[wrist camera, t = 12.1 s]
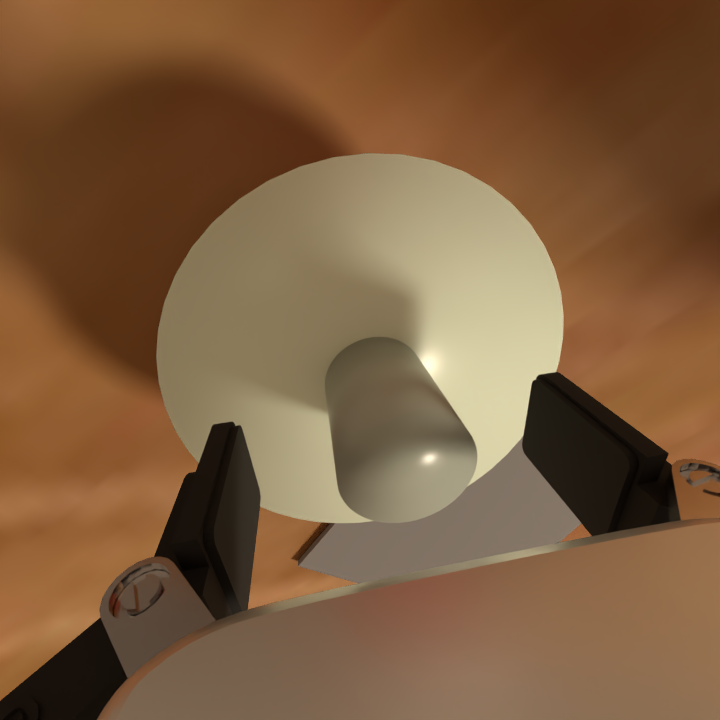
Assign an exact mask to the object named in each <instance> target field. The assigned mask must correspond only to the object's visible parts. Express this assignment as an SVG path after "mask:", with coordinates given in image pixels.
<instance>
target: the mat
mask: <svg viewBox="0 0 720 720" xmlns="http://www.w3.org/2000/svg"><path fill="white" fill-rule="evenodd" d="M522 441H523V437H522V438H521V439H520V440H519V441H518V443H517V444H516V445H515V446H514V447H513V448H512V449H511V450H510V452H509V453H508V454H507V455H506V456H505V457H504V458H503V459H502V460H501V461H499V462H498V463H497V464H496V465H495V466H494V467H493V468H492V469H491V470H489V471H488V472H487V473H485V474H484V475H483V476H482V477H480V478H479V479H478V480H476V481H475V482H474V483H472V484H470V485H469V486H467V487H466V489H465V490H464V491H463V492H462V493H461V494H460V496H459V497H457V498H456V499H455V500H454V501H453V502H452V503H450V504H449V505H448V506H446V507H445V508H443V509H442V510H440V511H438V512H436V513H434V514H432V515H430V516H427V517H425V518H422V519H418V520H415V521H410V522H403V523H382V522H377V521H370V522H361V523H330V524H329V525H328V526H327V527H326V529H325V530H324V531H323V532H322V533H321V534H320V536H319V537H318V538H317V539H316V540H315V541H314V543H313V544H312V545H311V546H310V547H309V548H308V550H307V551H306V552H305V553H304V554H303V555H302V557H301V558H300V559H299V560H298V566H300V567H303V568H307V569H310V570H313V571H317V572H320V573H324V574H327V575H331V576H334V577H338V578H341V579H345V580H348V581H352V582H355V583H358V584H359V583H364V582H369V581H374V580H378V579H383V578H388V577H393V576H398V575H402V574H407V573H412V572H417V571H422V570H426V569H431V568H436V567H441V566H446V565H451V564H456V563H461V562H466V561H471V560H475V559H480V558H485V557H490V556H495V555H500V554H505V553H510V552H515V551H520V550H525V549H530V548H535V547H540V546H545V545H550V544H555V543H559V542H560V541H561V540H562V539H564V538H565V537H566V536H567V535H568V534H569V533H571V532H572V531H573V530H574V529H575V528H576V527H578V526H579V525H580V524H581V522H580V521H579V520H578V518H577V517H576V516H575V515H574V513H573V512H572V511H571V510H570V509H569V507H568V506H567V505H566V504H565V503H564V501H563V500H562V499H561V498H560V496H559V495H558V494H557V493H556V492H555V490H554V489H553V488H552V487H551V486H550V484H549V483H548V482H547V481H546V480H545V478H544V477H543V476H542V475H541V473H540V472H539V471H538V470H537V469H536V467H535V466H534V465H533V464H532V463H531V461H530V460H529V459H528V458H527V456H526V455H525V454H524V452H523V448H522Z"/></svg>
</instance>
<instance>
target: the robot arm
mask: <svg viewBox="0 0 720 720" xmlns="http://www.w3.org/2000/svg"><path fill="white" fill-rule="evenodd" d="M522 448H523V452H524V454H525V455H526V456H527V458H528V459H529V460H530V461H531V463H532V464H533V465H534V466H535V467H536V469H537V470H538V471H539V472H540V473H541V475H542V476H543V477H544V478H545V480H546V481H547V482H548V483H549V484H550V486H551V487H552V488H553V489H554V490H555V492H556V493H557V494H558V495H559V496H560V498H561V499H562V500H563V501H564V503H565V504H566V505H567V506H568V507H569V509H570V510H571V511H572V512H573V513H574V515H575V516H576V517H577V518H578V520H579V521H580V522H581V523H582V524H583V526H584V527H585V528H586V529H587V530H588V532H589V533H590V534H591V535H592V536H591V537H586V538H581V539H576V540H571V541H565V542H560V543H555V544H550V545H545V546H540V547H535V548H530V549H525V550H520V551H515V552H510V553H505V554H500V555H495V556H490V557H485V558H480V559H475V560H471V561H466V562H461V563H456V564H451V565H446V566H441V567H436V568H431V569H426V570H422V571H417V572H412V573H407V574H402V575H398V576H393V577H388V578H383V579H378V580H374V581H369V582H364V583H359V584H354V585H350V586H345V587H340V588H335V589H331V590H327V591H322V592H318V593H313V594H309V595H305V596H300V597H296V598H291V599H287V600H282V601H278V602H274V603H270V604H267V605H263V606H259V607H256V608H252V609H249V610H247V609H248V602H249V593H250V585H251V577H252V568H253V560H254V552H255V543H256V535H257V527H258V518H259V510H260V501H261V496H260V489H259V485H258V482H257V478H256V475H255V471H254V468H253V464H252V461H251V457H250V454H249V450H248V447H247V443H246V440H245V436H244V433H243V429H242V427H241V425H237V426H235V424H234V422H225V423H219V424H214V425H212V427H211V430H210V433H209V436H208V439H207V442H206V444H205V447H204V450H203V453H202V456H201V458H200V461H199V464H198V467H197V470H196V472H193V473H188V474H187V475H186V476H185V478H184V480H183V483H182V486H181V488H180V491H179V493H178V496H177V499H176V501H175V504H174V506H173V509H172V512H171V514H170V517H169V519H168V522H167V525H166V527H165V530H164V532H163V535H162V538H161V540H160V543H159V545H158V548H157V551H156V553H155V556H154V557H151V558H147V559H145V560H142V561H139V562H137V563H136V564H134V565H132V566H131V567H129V568H127V569H126V570H125V571H124V572H123V573H121V574H120V575H119V576H118V577H117V578H116V579H115V580H114V581H113V583H112V584H111V585H110V586H109V587H108V589H107V591H106V593H105V594H104V596H103V598H102V601H101V605H100V609H99V610H100V616H101V618H99V619H98V620H97V621H96V622H95V623H93V624H92V625H91V626H90V627H89V628H87V629H86V630H85V631H84V632H83V633H81V634H80V635H79V636H78V637H77V638H75V639H74V640H73V641H72V642H71V643H69V644H68V645H67V646H66V647H65V648H63V649H62V650H61V651H60V652H59V653H57V654H56V655H55V656H54V657H52V658H51V659H50V660H49V661H48V662H46V663H45V664H44V665H43V666H42V667H40V668H39V669H38V670H37V671H36V672H34V673H33V674H32V675H31V676H30V677H28V678H27V679H26V680H25V681H24V682H22V683H21V684H20V685H19V686H18V687H16V688H15V689H14V690H13V691H12V692H10V693H9V694H8V695H7V696H6V697H4V698H3V699H2V700H1V701H0V720H720V466H718V465H716V464H713V463H709V462H706V461H702V460H696V459H682V460H678V461H676V462H675V463H674V464H672V465H671V464H670V463H668V462H667V461H666V459H667V456H668V454H669V453H667V452H666V451H665V450H663V449H662V448H660V447H659V446H658V445H656V444H655V443H654V442H652V441H651V440H650V439H648V438H647V437H646V436H644V435H643V434H642V433H640V432H639V431H637V430H636V429H635V428H633V427H632V426H631V425H629V424H628V423H627V422H625V421H624V420H623V419H621V418H620V417H619V416H617V415H616V414H614V413H613V412H612V411H610V410H609V409H608V408H606V407H605V406H604V405H602V404H601V403H600V402H598V401H597V400H595V399H594V398H593V397H591V396H590V395H589V394H587V393H586V392H585V391H583V390H582V389H581V388H579V387H578V386H577V385H575V384H574V383H572V382H571V381H570V380H568V379H567V378H566V377H564V376H563V375H562V374H560V373H558V372H553V373H546V374H540V375H538V376H537V378H536V380H533V382H532V385H531V391H530V397H529V404H528V410H527V416H526V422H525V428H524V435H523V441H522Z"/></svg>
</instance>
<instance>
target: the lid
mask: <svg viewBox="0 0 720 720" xmlns="http://www.w3.org/2000/svg"><path fill="white" fill-rule="evenodd" d="M562 341H563V307H562V298H561V291H560V287H559V283H558V280H557V276H556V272H555V269H554V266H553V264H552V262H551V259H550V257H549V255H548V253H547V250H546V248H545V246H544V244H543V243H542V241H541V240H540V238H539V237H538V235H537V233H536V232H535V230H534V229H533V227H532V226H531V224H530V223H529V222H528V221H527V220H526V219H525V217H524V216H523V215H522V214H521V213H520V212H519V211H518V210H517V209H516V207H515V206H514V205H513V204H512V203H511V202H509V201H508V200H507V199H506V198H504V197H503V196H502V195H501V194H499V193H498V192H497V191H496V190H494V189H493V188H492V187H490V186H489V185H487V184H485V183H484V182H482V181H480V180H478V179H476V178H475V177H473V176H471V175H469V174H468V173H466V172H464V171H461V170H459V169H456V168H453V167H450V166H448V165H445V164H442V163H439V162H437V161H434V160H429V159H423V158H418V157H413V156H408V155H403V154H377V153H365V154H357V155H349V156H340V157H333V158H329V159H325V160H322V161H318V162H315V163H311V164H307V165H304V166H300V167H298V168H295V169H293V170H291V171H289V172H286V173H284V174H282V175H280V176H277V177H275V178H273V179H271V180H268V181H267V182H265V183H264V184H262V185H260V186H259V187H257V188H256V189H254V190H253V191H251V192H249V193H248V194H246V195H245V196H243V197H242V198H240V199H239V200H237V201H236V202H235V203H234V204H233V205H232V206H230V207H229V208H228V209H227V210H226V211H225V212H224V213H223V214H221V215H220V216H219V217H218V218H217V219H216V220H215V221H213V222H212V224H211V225H210V226H209V227H208V228H207V230H206V231H205V232H204V233H203V234H202V236H201V237H200V238H199V239H198V240H197V242H196V243H195V244H194V245H193V246H192V248H191V249H190V251H189V253H188V254H187V256H186V258H185V259H184V261H183V263H182V264H181V266H180V268H179V269H178V271H177V273H176V274H175V277H174V279H173V282H172V284H171V287H170V289H169V292H168V294H167V297H166V299H165V302H164V306H163V310H162V314H161V319H160V323H159V328H158V338H157V354H156V359H157V370H158V380H159V386H160V389H161V393H162V397H163V401H164V405H165V408H166V410H167V413H168V415H169V417H170V420H171V422H172V424H173V427H174V429H175V431H176V432H177V434H178V435H179V437H180V439H181V440H182V442H183V443H184V445H185V447H186V448H187V450H188V451H189V452H190V453H191V455H192V456H193V457H194V458H195V459H196V460H197V462H198V463H199V461H200V458H201V456H202V453H203V450H204V447H205V444H206V442H207V439H208V436H209V433H210V430H211V427H212V425H214V424H219V423H225V422H234V424H235V426H237V425H241V427H242V429H243V433H244V436H245V440H246V443H247V447H248V450H249V454H250V457H251V461H252V464H253V468H254V471H255V475H256V478H257V482H258V485H259V489H260V496H261V501H260V507H262V508H265V509H267V510H270V511H273V512H275V513H278V514H282V515H286V516H289V517H293V518H297V519H303V520H309V521H314V522H326V523H361V522H370V521H377V522H382V523H403V522H410V521H415V520H418V519H422V518H425V517H427V516H430V515H432V514H434V513H436V512H438V511H440V510H442V509H443V508H445V507H446V506H448V505H449V504H450V503H452V502H453V501H454V500H455V499H456V498H457V497H459V496H460V494H461V493H462V492H463V491H464V490H465V489H466V487H467V486H469V485H470V484H472V483H474V482H475V481H476V480H478V479H479V478H480V477H482V476H483V475H484V474H485V473H487V472H488V471H489V470H491V469H492V468H493V467H494V466H495V465H496V464H497V463H498V462H499V461H501V460H502V459H503V458H504V457H505V456H506V455H507V454H508V453H509V452H510V450H511V449H512V448H513V447H514V446H515V445H516V444H517V443H518V441H519V440H520V439H521V438H522V437H523V435H524V428H525V422H526V416H527V410H528V404H529V397H530V391H531V385H532V382H533V380H536V378H537V376H538V375H540V374H546V373H553V372H556V370H557V367H558V363H559V359H560V353H561V347H562Z"/></svg>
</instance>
